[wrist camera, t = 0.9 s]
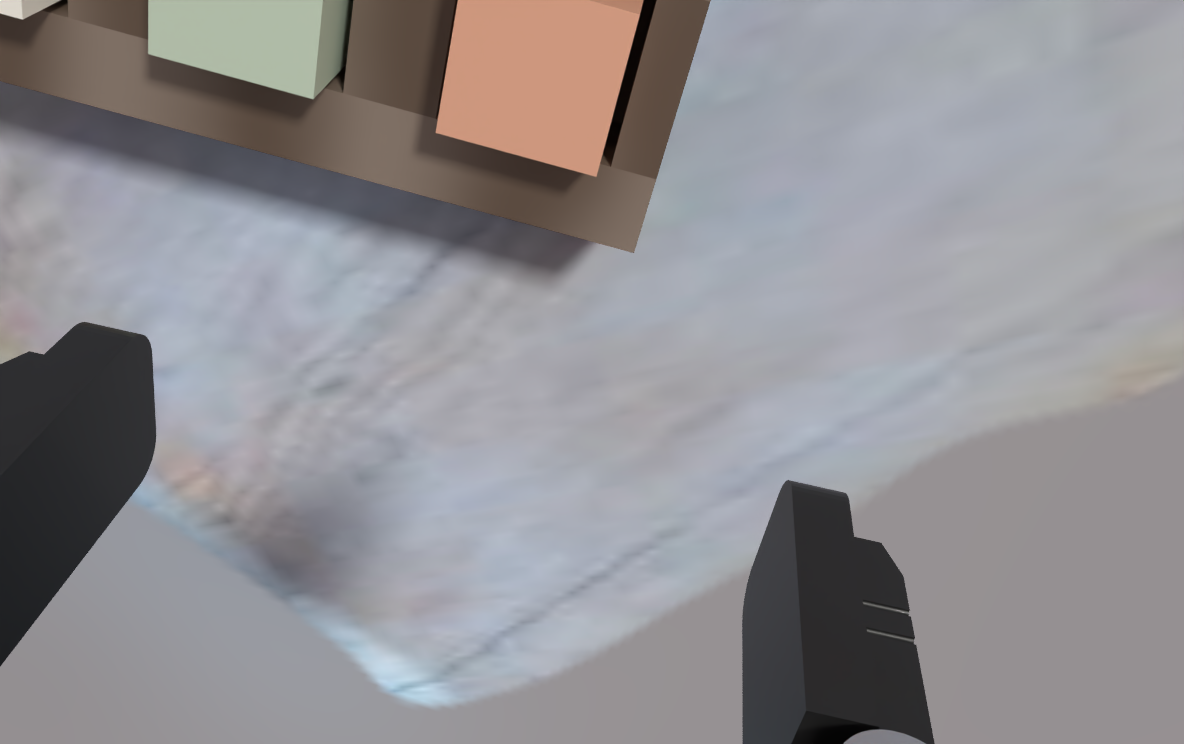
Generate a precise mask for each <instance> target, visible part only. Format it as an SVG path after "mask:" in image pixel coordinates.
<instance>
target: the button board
mask: <svg viewBox="0 0 1184 744" xmlns="http://www.w3.org/2000/svg"><path fill="white" fill-rule="evenodd" d="M710 1H711V0H643V4H642V8H641V12H640V16H639V20H638V24H637V27H636V31H635V35H634V39H633V42H632V46H631V50H630V54H629V57H628V61H627V65H626V68H625V72H624V76H623V80H622V83H621V87H620V91H619V95H618V98H617V102H616V106H615V109H614V113H613V117H612V121H611V124H610V128H609V132H608V136H607V139H606V143H605V147H604V150H603V154H602V158H601V162H600V165H599V169H598V173H597V177H595V176H591V175H588V174H584V173H580V172H577V171H573V170H569V169H566V168H562V167H558V166H555V165H551V164H547V163H544V162H540V161H537V160H533V159H529V158H526V157H522V156H518V155H515V154H511V153H507V152H504V151H500V150H496V149H493V148H489V147H485V146H482V145H478V144H475V143H471V142H467V141H464V140H460V139H456V138H453V137H449V136H445V135H442V134H438V133H436V127H437V121H438V115H439V110H440V104H441V98H442V92H443V86H444V80H445V74H446V68H447V62H448V56H449V50H450V44H451V38H452V33H453V27H454V21H455V15H456V9H457V3H458V0H354V1H353V10H352V19H351V28H350V36H349V45H348V54H347V63H346V65H345V66H344V67H343V68H342V69H341V71H340V72H339V73H338V74H337V75H336V76H335V77H334V78H333V79H332V80H331V81H330V82H329V83H328V84H327V85H326V86H325V87H324V89H323V90H322V91H321V92H320V93H319V94H318V95H317V96H316V97H315V98H314V99H310V98H307V97H303V96H299V95H296V94H292V93H288V92H285V91H281V90H278V89H274V88H270V87H267V86H263V85H259V84H256V83H252V82H248V81H245V80H241V79H237V78H234V77H230V76H226V75H223V74H219V73H216V72H212V71H208V70H205V69H201V68H197V67H194V66H190V65H186V64H183V63H179V62H175V61H172V60H168V59H164V58H161V57H157V56H154V55H150V54H148V0H60V1H58V2H56V3H54V4H52V5H50V6H48V7H46V8H44V9H42V10H41V11H39V12H37V13H35V14H33V15H31V16H29V17H27V18H25V19H23V20H22V19H19V18H15V17H11V16H8V15H4V14H0V81H1V82H5V83H9V84H13V85H16V86H20V87H24V88H27V89H31V90H35V91H38V92H42V93H46V94H49V95H53V96H57V97H60V98H64V99H68V100H72V101H75V102H79V103H83V104H86V105H90V106H94V107H97V108H101V109H105V110H108V111H112V112H116V113H120V114H123V115H127V116H131V117H134V118H138V119H142V120H145V121H149V122H153V123H156V124H160V125H164V126H167V127H171V128H175V129H179V130H182V131H186V132H190V133H193V134H197V135H201V136H204V137H208V138H212V139H215V140H219V141H223V142H226V143H230V144H234V145H238V146H241V147H245V148H249V149H252V150H256V151H260V152H263V153H267V154H271V155H274V156H278V157H282V158H286V159H289V160H293V161H297V162H300V163H304V164H308V165H311V166H315V167H319V168H322V169H326V170H330V171H333V172H337V173H341V174H345V175H348V176H352V177H356V178H359V179H363V180H367V181H370V182H374V183H378V184H381V185H385V186H389V187H393V188H396V189H400V190H404V191H407V192H411V193H415V194H418V195H422V196H426V197H429V198H433V199H437V200H440V201H444V202H448V203H452V204H455V205H459V206H463V207H466V208H470V209H474V210H477V211H481V212H485V213H488V214H492V215H496V216H499V217H503V218H507V219H511V220H514V221H518V222H522V223H525V224H529V225H533V226H536V227H540V228H544V229H547V230H551V231H555V232H559V233H562V234H566V235H570V236H573V237H577V238H581V239H584V240H588V241H592V242H595V243H599V244H603V245H606V246H610V247H614V248H618V249H621V250H625V251H629V252H632V253H634V251H635V247H636V244H637V241H638V237H639V234H640V231H641V228H642V224H643V221H644V218H645V214H646V211H647V208H648V205H649V201H650V198H651V195H652V191H653V188H654V185H655V182H656V178H657V175H658V172H659V168H660V165H661V162H662V159H663V155H664V152H665V149H666V145H667V142H668V139H669V135H670V132H671V129H672V126H673V122H674V119H675V116H676V112H677V109H678V106H679V103H680V99H681V96H682V93H683V89H684V86H685V83H686V80H687V76H688V73H689V70H690V66H691V63H692V60H693V57H694V53H695V50H696V47H697V43H698V40H699V37H700V34H701V30H702V27H703V24H704V20H705V17H706V14H707V11H708V7H709V4H710Z"/></svg>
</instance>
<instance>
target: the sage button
mask: <svg viewBox="0 0 1184 744" xmlns="http://www.w3.org/2000/svg"><path fill="white" fill-rule="evenodd" d="M353 1H354V0H148V54H150V55H154V56H157V57H161V58H164V59H168V60H172V61H175V62H179V63H183V64H186V65H190V66H194V67H197V68H201V69H205V70H208V71H212V72H216V73H219V74H223V75H226V76H230V77H234V78H237V79H241V80H245V81H248V82H252V83H256V84H259V85H263V86H267V87H270V88H274V89H278V90H281V91H285V92H288V93H292V94H296V95H299V96H303V97H307V98H310V99H314V98H315V97H316V96H317V95H318V94H319V93H320V92H321V91H322V90H323V89H324V87H325V86H326V85H327V84H328V83H329V82H330V81H331V80H332V79H333V78H334V77H335V76H336V75H337V74H338V73H339V72H340V71H341V69H342V68H343V67H344V66H345V65H346V63H347V54H348V45H349V36H350V28H351V19H352V10H353Z"/></svg>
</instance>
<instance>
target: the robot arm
mask: <svg viewBox="0 0 1184 744" xmlns="http://www.w3.org/2000/svg"><path fill="white" fill-rule="evenodd" d="M155 443H156V421H155V402H154V382H153V363H152V349H151V344H150V342H149V340H148V338H147V337H146V336H144V335H141V334H137V333H132V332H128V331H123V330H119V329H114V328H110V327H105V326H101V325H96V324H92V323H87V322H82V323H79V324H77V325H76V326H74V327H73V328H72V329H71V330H70V331H69V332H68V333H67V334H65V335H64V336H63V337H62V338H61V339H60V340H59V341H58V342H57V343H56V344H55V345H54V346H53V347H52V348H51V349H49V350H48V351H47V352H46V353H45V354H44V355H43V354H39V353H34V352H30V351H29V352H27V353H25V354H23V355H20V356H18V357H16V358H14V359H11V360H9V361H7V362H5V363H2V364H0V666H1V665H2V663H3V662H4V661H5V660H6V658H7V657H8V655H9V654H10V653H11V652H12V650H13V649H14V648H15V646H16V645H17V644H18V643H19V641H20V640H21V639H22V637H23V636H24V635H25V633H26V632H27V631H28V629H29V628H30V627H31V626H32V624H33V623H34V621H35V620H36V619H37V618H38V617H39V615H40V614H41V613H42V611H43V610H44V609H45V607H46V606H47V605H48V603H49V602H50V601H51V600H52V598H53V597H54V596H55V594H56V593H57V592H58V591H59V589H60V588H61V587H62V585H63V584H64V583H65V581H66V580H67V579H68V578H69V576H70V575H71V574H72V572H73V571H74V570H75V568H76V567H77V566H78V564H79V563H80V562H81V560H82V559H83V558H84V557H85V555H86V554H87V553H88V551H89V550H90V549H91V548H92V546H93V545H94V544H95V542H96V541H97V539H98V538H99V537H100V536H101V535H102V533H103V532H104V531H105V529H106V528H107V527H108V525H109V524H110V523H111V521H112V520H113V519H114V518H115V516H116V515H117V514H118V512H119V511H120V510H121V508H122V507H123V506H124V505H125V503H126V502H127V501H128V499H129V498H130V497H131V496H132V494H133V493H134V492H135V490H136V489H137V488H138V486H139V485H140V484H141V482H142V481H143V479H144V477H145V475H146V473H147V471H148V469H149V466H150V464H151V461H152V457H153V454H154V449H155ZM909 610H910V609H909V604H908V599H907V593H906V588H905V583H904V577H903V575H902V573H901V572H900V571H899V569H898V567H897V566H896V564H895V563H894V561H893V560H892V558H891V557H890V555H889V554H888V552H887V551H886V549H885V548H884V546H883V545H882V543H879V542H875V541H871V540H866V539H861V538H857V537H854V533H853V526H852V518H851V511H850V504H849V498H848V496H847V494H846V493H843V492H839V491H834V490H830V489H825V488H821V487H816V486H812V485H807V484H803V483H798V482H794V481H789V480H787V481H786V482H785V483H784V484H783V486H782V488H781V490H780V493H779V495H778V498H777V501H776V503H775V506H774V509H773V512H772V514H771V517H770V520H769V523H768V525H767V528H766V531H765V533H764V536H763V539H762V542H761V544H760V547H759V550H758V553H757V555H756V558H755V561H754V563H753V566H752V569H751V572H750V576H749V579H748V583H747V588H746V593H745V599H744V606H743V620H742V622H743V623H742V627H743V629H742V634H743V636H742V638H743V744H934V739H933V734H932V728H931V723H930V717H929V712H928V707H927V701H926V696H925V690H924V685H923V679H922V674H921V669H920V663H919V658H918V653H917V648H916V645H914V638H915V636H914V631H913V626H912V620H911V617H910V616H908V615H909Z"/></svg>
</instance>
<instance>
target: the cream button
mask: <svg viewBox="0 0 1184 744" xmlns="http://www.w3.org/2000/svg"><path fill="white" fill-rule="evenodd" d="M58 1H60V0H0V14H4V15H8V16H11V17H15V18H19V19H22V20H23V19H25V18H27V17H29V16H31V15H33V14H35V13H37V12H39V11H41V10H42V9H44V8H46V7H48V6H50V5H52V4H54V3H56V2H58Z"/></svg>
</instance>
